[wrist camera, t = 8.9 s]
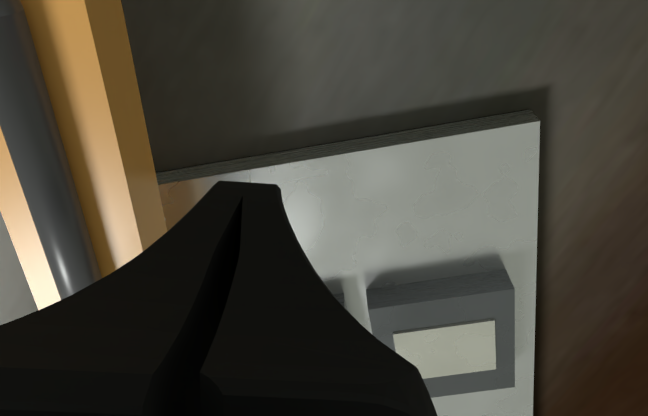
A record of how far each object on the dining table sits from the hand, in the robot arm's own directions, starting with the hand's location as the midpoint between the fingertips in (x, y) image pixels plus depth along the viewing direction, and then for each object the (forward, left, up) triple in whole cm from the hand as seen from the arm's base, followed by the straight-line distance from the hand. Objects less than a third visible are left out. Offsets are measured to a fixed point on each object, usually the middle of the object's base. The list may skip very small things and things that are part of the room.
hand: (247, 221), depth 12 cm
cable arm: (-6, -4, -5) cm, 9 cm away
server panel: (0, -11, -8) cm, 14 cm away
